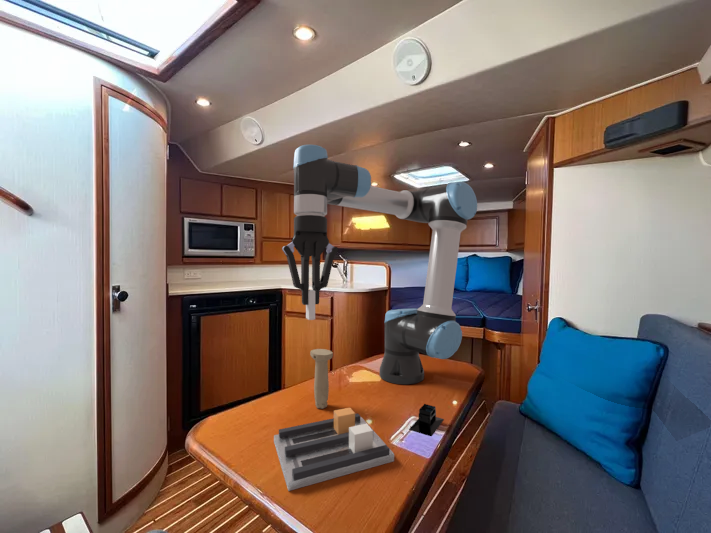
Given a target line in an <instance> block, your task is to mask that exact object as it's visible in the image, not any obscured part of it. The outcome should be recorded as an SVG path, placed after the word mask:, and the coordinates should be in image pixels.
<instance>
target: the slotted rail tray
mask: <svg viewBox="0 0 711 533" xmlns="http://www.w3.org/2000/svg"><path fill="white" fill-rule="evenodd" d="M360 417H361V414H359V413H355V422H356V421H357V422H358V421H360ZM330 427H334V417H333V418H329V419H328V418H327V419H324V420H323V419H322V420H319V421H315V422H308V423H305V424H300V425H293V426H289V427H284V428H279V429H278V434H279V437H280V438H283V437H286V436H293V435H297V434H302V433H306V432H311V431H316V430H320V429H325V428H330ZM370 428H371V429H373V428H372V427H371V426H370ZM346 442H349V432H348V433H344V434H339V435H335V436H331V437H326V438H322V439H317V440H313V441H309V442H304V443H300V444H295V445H291V446H287V447H285V455H286V457H288V456H291V455H296V454H300V453H304V452H309V451H313V450H317V449H321V448H325V447H329V446H334V445H338V444H342V443H346ZM390 450H391V448H390V447H389V446H388V445H387V444H386V445H384V446H380V447H376V448H372V449H368V450H364V451H360V452H356V453H352V454H349V455H345V456H341V457H337V458H333V459H329V460H325V461H321V462H317V463H313V464H310V465H306V466H302V467H298V468H294V469H292V476H293V479H294V480H298V479H302V478H305V477H309V476H313V475H316V474H320V473H324V472H327V471H331V470H335V469H338V468H342V467H346V466H350V465H353V464H357V463H361V462H364V461H368V460H372V459H375V458H379V457H383V456H386V455H389V454H390Z"/></svg>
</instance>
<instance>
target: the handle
mask: <svg viewBox="0 0 711 533" xmlns="http://www.w3.org/2000/svg"><path fill="white" fill-rule="evenodd" d="M309 354H310V357H311V359H313V360H314V361H315V362H314V364H315V367H314V384H313V393H314V402H315V407H316V409H322V410H323V409H325V408H327V407H328V403H329V402H328V401H329V390H330V388H329V387H330V385H329V368H328V367H329V365H328V362H329V360H331V359H332V358H333V356H334V352H332V350H329V349H325V348H316V349H315V348H314V349H312V350H310V353H309Z"/></svg>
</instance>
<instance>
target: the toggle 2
mask: <svg viewBox="0 0 711 533" xmlns="http://www.w3.org/2000/svg"><path fill="white" fill-rule="evenodd" d="M368 425H369V424H368V423H367V422H366V424H362V425H357V426H353V427H349V447H350V449H351V450H352V452H353V453H356V452H360V451H364V450H368V449H372V448H373V431H374V429H373V428H372V427H371V426H370V425H369V426H370V427H371V428H372V429H373V430H372V429H371V428H370V427H369V426H368Z"/></svg>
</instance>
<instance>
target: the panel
mask: <svg viewBox="0 0 711 533" xmlns="http://www.w3.org/2000/svg"><path fill="white" fill-rule="evenodd" d="M366 423H367V422H366V420H365V419H364V418H363V417H362V416H360V421H358V422H357V421H356V422H355V426H357V425H362V424H366ZM368 426H369V427H371V426H370V425H369V424H368ZM372 430H373V448H376V447H380V446H384V445H387V444H386V443H385V442H384V440H383V439H382V438H381V437H380V436H379V435H378V434H377V433H376V432H375V430H374V429H373V428H372ZM343 434H344V433H343ZM335 435H338V434H337V432H336V431H335V429H334V427H330V428H325V429H320V430H316V431H311V432H306V433H302V434H297V435H293V436H286V437H283V438H280V437H279V433H278V434H274V435H273V444H274V446H275V449H276V453H277V456H278V457H277V458H278V461H279V464H280V468H281V471H282V474H283V477H284V478H283V479H284V481H285V484H286V488H287V490H288V492H291V491H293V490H297V489H300V488H304V487H308V486H312V485H314V484H319V483H322V482H325V481H329V480H332V479H335V478H336V479H337V478H339V477H343V476H346V475H349V474H353V473H356V472H357V473H358V472H360V471H364V470H367V469H372V468H374V467H378V466H381V465H384V464H385V465H386V464H389V463H392V462H395V453H394V452H393V450H391V449H390V454H389V455H386V456H383V457H379V458H375V459H372V460H368V461H364V462H361V463H357V464H353V465H350V466H346V467H342V468H338V469H335V470H331V471H327V472H324V473H320V474H316V475H313V476H309V477H305V478H302V479H298V480H294V479H293V476H292V469H294V468H298V467H302V466H306V465H310V464H313V463H317V462H321V461H325V460H329V459H333V458H337V457H341V456H345V455H349V454H352V453H353V452H352V450H351V449H350V447H349V442H346V443H342V444H338V445H334V446H329V447H325V448H321V449H317V450H313V451H309V452H304V453H300V454H296V455H291V456H288V457H286V455H285V447H287V446H291V445H295V444H300V443H304V442H309V441H313V440H317V439H322V438H326V437H331V436H335Z"/></svg>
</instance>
